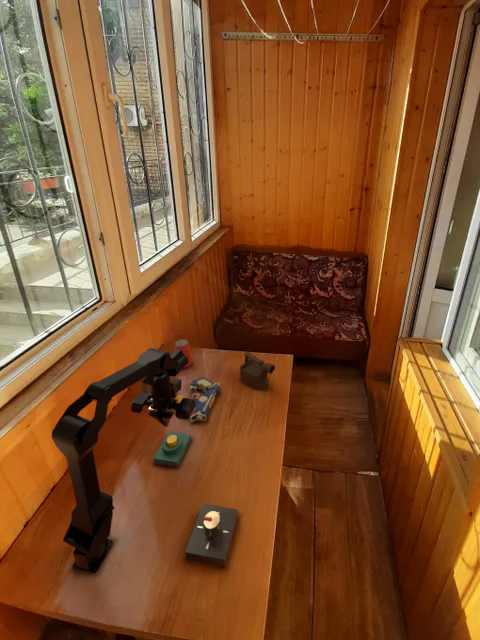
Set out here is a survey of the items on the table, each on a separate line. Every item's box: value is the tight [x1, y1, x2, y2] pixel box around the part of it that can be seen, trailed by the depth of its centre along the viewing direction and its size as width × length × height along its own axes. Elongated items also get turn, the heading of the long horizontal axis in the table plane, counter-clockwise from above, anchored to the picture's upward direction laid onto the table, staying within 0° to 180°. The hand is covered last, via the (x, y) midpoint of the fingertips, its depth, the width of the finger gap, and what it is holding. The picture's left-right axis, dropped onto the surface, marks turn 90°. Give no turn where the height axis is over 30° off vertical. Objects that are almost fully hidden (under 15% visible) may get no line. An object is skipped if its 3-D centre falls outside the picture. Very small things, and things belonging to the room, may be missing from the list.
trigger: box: [167, 435, 177, 447], centre depth 102 cm, size 3×3×2 cm
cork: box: [139, 378, 151, 393], centre depth 124 cm, size 6×6×11 cm
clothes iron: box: [239, 351, 276, 390], centre depth 131 cm, size 8×16×13 cm, turn 48°
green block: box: [153, 430, 192, 468], centre depth 102 cm, size 10×8×4 cm
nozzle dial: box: [204, 511, 221, 539], centre depth 79 cm, size 4×4×4 cm
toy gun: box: [175, 376, 221, 423], centre depth 122 cm, size 21×4×15 cm
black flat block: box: [184, 503, 239, 568], centre depth 80 cm, size 11×10×3 cm
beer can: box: [174, 338, 192, 369], centre depth 141 cm, size 7×7×12 cm
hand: (166, 425), depth 99 cm, fingers closed
